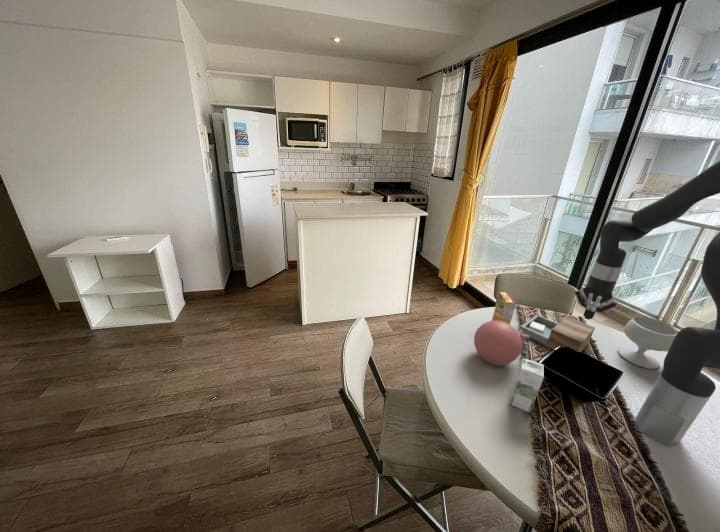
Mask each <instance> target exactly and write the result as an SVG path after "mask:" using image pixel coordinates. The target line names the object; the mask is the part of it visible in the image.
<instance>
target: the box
mask: <svg viewBox="0 0 720 532" xmlns="http://www.w3.org/2000/svg"><path fill="white" fill-rule="evenodd" d="M532 321H533V322H536V323H539V324H542V325H544V326H545V329H544V331H543V333H542V334H540V333H538V332H535V331H533V330H531V329H529V326H530V324H531V323H532ZM558 323H559V322H557V321H554V320H552V319H549V318H547V317H545V316H542V315H540V314H535V316H533V317H531V318H530V319H529V320H528V321H526V322H525V323H524V324H522V325H521V326H520V329H519V330H522V331H523V333H524V334H525V335H529V336H530V338H529V339H530V340H533V341H534V342H537V343H539V344H541V345H543V346H545V347H547V346H546V344H547V341H548V339H549V336H550V333H551V330H552V329H553V328H554V327H555V326H556V325H557V324H558Z"/></svg>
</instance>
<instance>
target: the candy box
mask: <svg viewBox="0 0 720 532" xmlns="http://www.w3.org/2000/svg"><path fill="white" fill-rule="evenodd" d="M495 303H496V304H495V308H494V311H493V315H492V317H491V321H502V322H505V323H507V324H509V325H511V322H512V318H513V316H514V312H515V309H516V305H517V302H516V301H515V300H514V298H513V297H512V295H510V293H509V292H501V291H499V292H498V296H497V299H496V302H495Z"/></svg>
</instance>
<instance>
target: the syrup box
mask: <svg viewBox="0 0 720 532" xmlns="http://www.w3.org/2000/svg"><path fill="white" fill-rule="evenodd" d="M544 365H545V364H542V363H539V362H537V361H533V360H530V359H527V358H524V357H522V359H521V361H520V364H519V367H518V369H517V373H516V376H515V379H514V382H513V385H512V387H511V391H510V395H509V396H510V397H509V398H510V399H509V405H510V406H511V407H514V408H517V409H519V410H521V411H523V412H526V413H528V414H529V413H530V414H531V411H532V409H533V407H534V403H535V400H536V398H537V396H538V393H539V391H540V389H541V386H542V383H543V380H544V378H545V375H544V373H545V372H544V371H545V370H544V367H545V366H544Z"/></svg>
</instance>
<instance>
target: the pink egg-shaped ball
mask: <svg viewBox="0 0 720 532" xmlns="http://www.w3.org/2000/svg"><path fill="white" fill-rule="evenodd" d="M527 339H528V340H529V339H530V336H529V335H525V334H524V333H523V331H522V330H520V329H518V330H516V328H515V327H513V326H512V325H511V324H510V325H509V324H507V323H505V322H502V321H492V320H490V321H487V322H484V323H482V324H481V325H480V326H479V327H478V328H477V330H476V332H475V333H474V338H473V343H474V347H475V350H476V352H477V354H478V355H479V356H480V357H481V358H482V359H483V360H484V361H486V362H487V363H489V364H492V365H495V366H505V365H510V364H511V363H513V362H515V360H517V359H518V357H519V356H520V354H521V351H522V347H523V343H524V342H525V340H527Z"/></svg>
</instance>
